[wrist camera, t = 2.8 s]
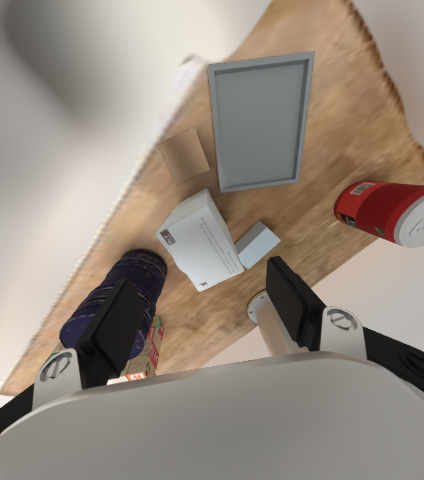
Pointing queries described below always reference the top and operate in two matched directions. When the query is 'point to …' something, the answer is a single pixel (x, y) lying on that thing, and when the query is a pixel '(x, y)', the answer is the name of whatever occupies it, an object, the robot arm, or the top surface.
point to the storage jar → (128, 267)
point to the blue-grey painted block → (255, 244)
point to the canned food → (385, 211)
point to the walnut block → (184, 156)
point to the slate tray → (260, 119)
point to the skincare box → (200, 241)
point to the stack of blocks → (143, 362)
